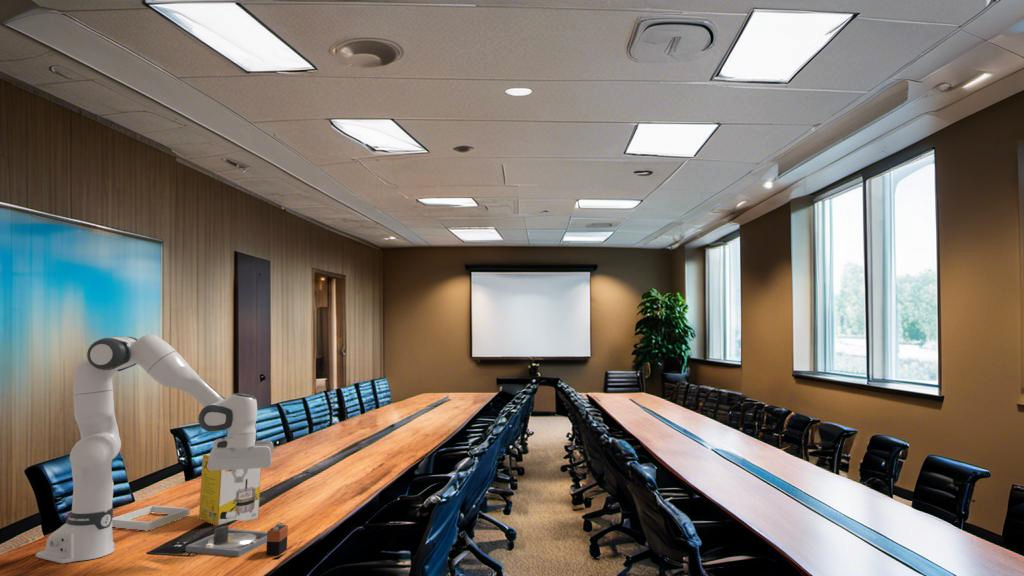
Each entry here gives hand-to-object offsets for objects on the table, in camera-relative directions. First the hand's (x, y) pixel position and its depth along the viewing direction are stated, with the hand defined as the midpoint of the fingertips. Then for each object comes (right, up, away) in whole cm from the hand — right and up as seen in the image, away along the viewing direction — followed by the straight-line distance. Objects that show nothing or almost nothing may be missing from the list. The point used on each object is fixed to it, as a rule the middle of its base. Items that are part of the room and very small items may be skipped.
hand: (238, 482), depth 207 cm
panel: (-2, -23, 0) cm, 23 cm away
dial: (-2, -21, 0) cm, 21 cm away
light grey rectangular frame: (-48, -25, +29) cm, 62 cm away
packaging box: (-20, -26, +35) cm, 48 cm away
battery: (+16, -22, -7) cm, 28 cm away
